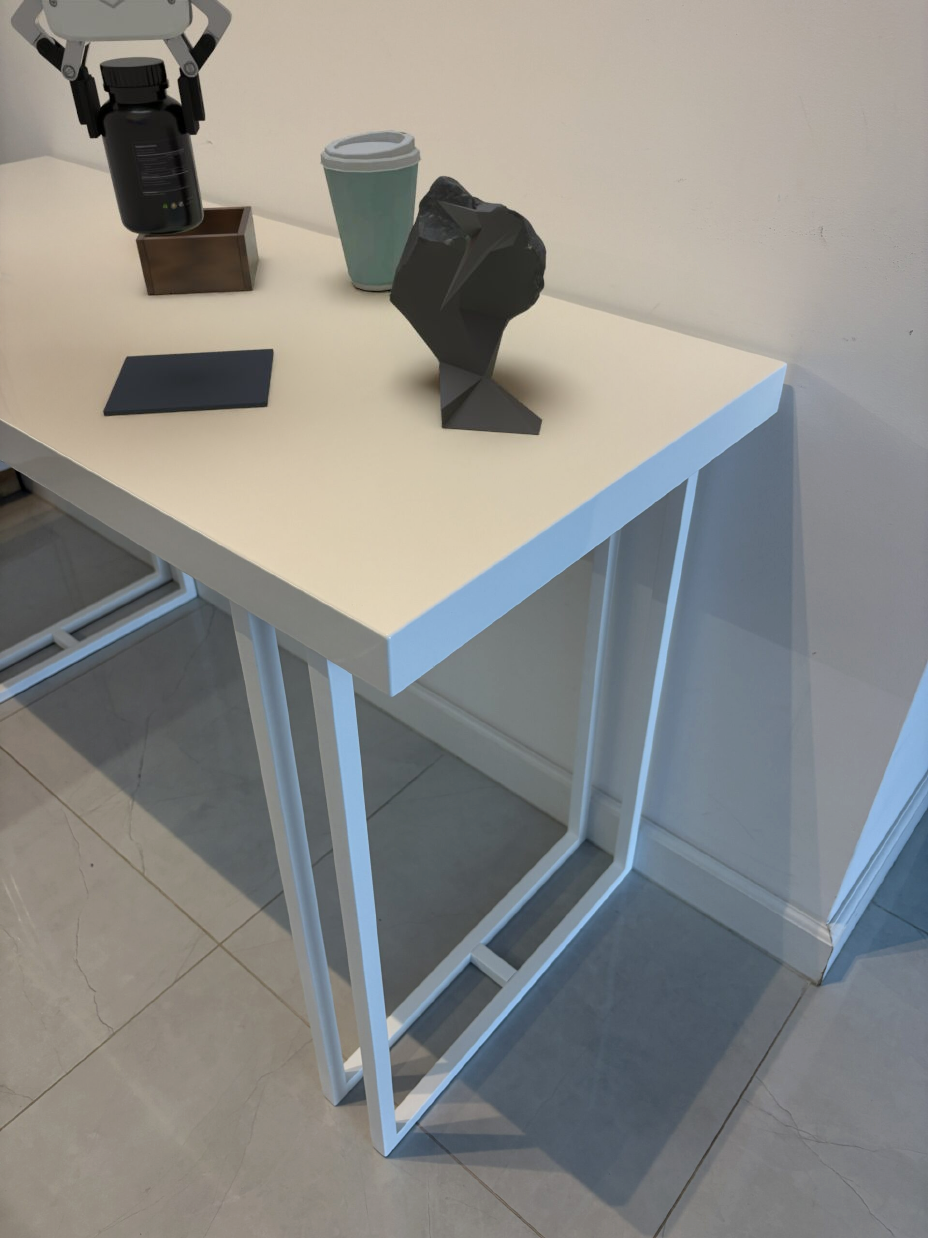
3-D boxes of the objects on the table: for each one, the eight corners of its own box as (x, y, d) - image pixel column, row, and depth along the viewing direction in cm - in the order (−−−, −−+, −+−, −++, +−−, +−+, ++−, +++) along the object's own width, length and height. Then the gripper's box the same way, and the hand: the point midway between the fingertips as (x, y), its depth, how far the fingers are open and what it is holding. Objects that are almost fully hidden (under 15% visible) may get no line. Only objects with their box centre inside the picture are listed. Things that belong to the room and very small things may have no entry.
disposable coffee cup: (358, 304, 101) (346, 153, 92) (315, 277, 108) (300, 134, 99) (442, 285, 106) (438, 139, 96) (395, 260, 113) (388, 122, 103)
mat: (103, 415, 81) (102, 411, 81) (127, 360, 90) (126, 355, 90) (267, 406, 82) (266, 401, 82) (273, 352, 91) (273, 348, 91)
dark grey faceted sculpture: (556, 360, 89) (567, 154, 78) (538, 434, 77) (549, 204, 66) (410, 351, 91) (400, 149, 80) (371, 422, 79) (354, 196, 68)
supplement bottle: (110, 222, 80) (73, 59, 72) (186, 208, 83) (158, 51, 75) (139, 241, 75) (102, 70, 68) (218, 226, 78) (191, 61, 71)
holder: (147, 294, 104) (135, 239, 101) (162, 261, 113) (151, 209, 110) (252, 290, 105) (244, 234, 102) (258, 257, 114) (251, 205, 111)
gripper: (-63, -158, 60) (22, 147, 71) (212, -160, 61) (253, 139, 72) (-28, -155, 66) (45, 127, 77) (222, -157, 67) (258, 120, 78)
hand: (145, 130), depth 74 cm, fingers closed on supplement bottle, 6 cm apart
